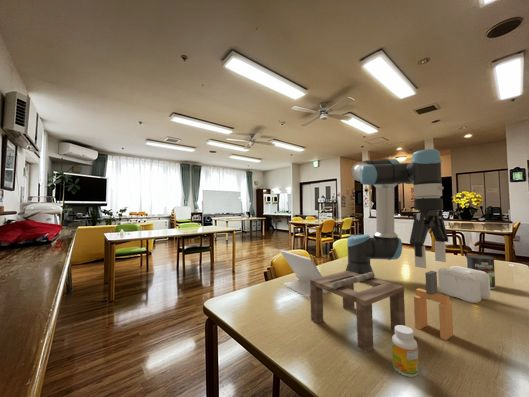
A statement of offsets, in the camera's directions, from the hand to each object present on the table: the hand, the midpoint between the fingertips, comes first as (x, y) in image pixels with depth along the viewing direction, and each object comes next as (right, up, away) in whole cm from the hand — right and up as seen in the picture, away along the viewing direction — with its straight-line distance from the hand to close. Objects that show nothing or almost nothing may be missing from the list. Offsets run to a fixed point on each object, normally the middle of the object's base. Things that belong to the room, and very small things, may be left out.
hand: (431, 264), depth 73 cm
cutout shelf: (-22, -22, +4) cm, 31 cm away
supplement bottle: (-19, -21, -17) cm, 33 cm away
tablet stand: (-32, -24, +43) cm, 59 cm away
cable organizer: (+33, -22, +25) cm, 47 cm away
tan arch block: (0, -21, 0) cm, 21 cm away
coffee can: (+53, -22, +39) cm, 69 cm away
